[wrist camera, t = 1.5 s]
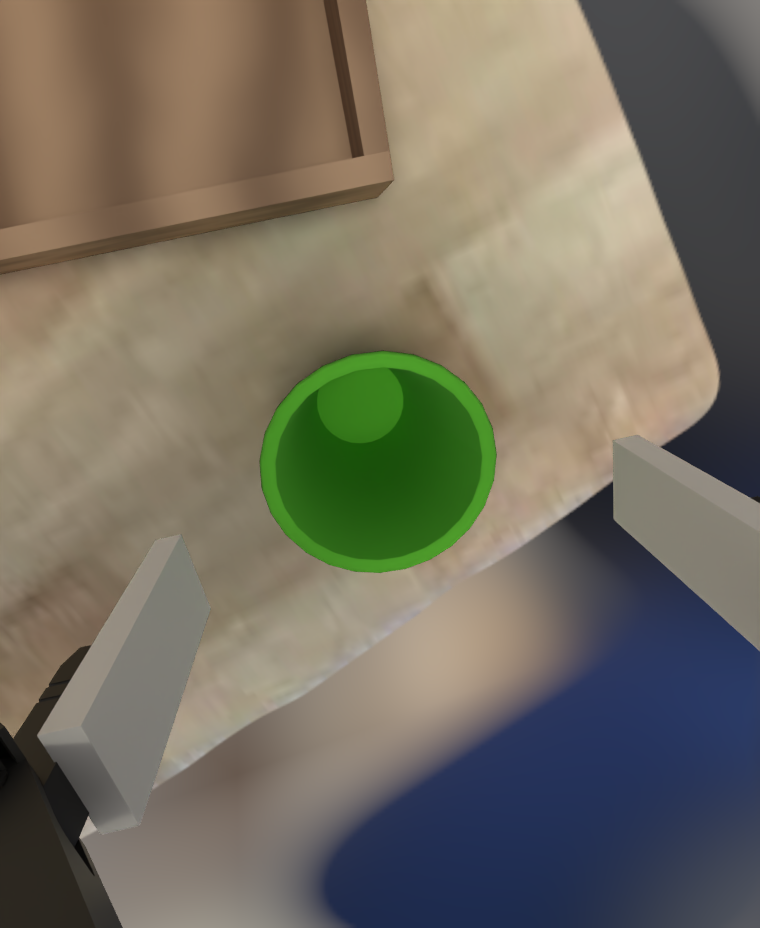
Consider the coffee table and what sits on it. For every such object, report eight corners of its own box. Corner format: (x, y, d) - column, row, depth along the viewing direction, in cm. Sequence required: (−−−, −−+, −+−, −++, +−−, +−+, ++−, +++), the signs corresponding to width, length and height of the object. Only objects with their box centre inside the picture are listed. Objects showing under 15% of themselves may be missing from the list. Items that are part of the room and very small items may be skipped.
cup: (265, 329, 27) (234, 371, 17) (431, 309, 28) (496, 337, 18) (294, 481, 31) (282, 590, 21) (441, 460, 31) (500, 556, 21)
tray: (-62, 287, 25) (-171, 294, 19) (-254, -93, 19) (-483, -235, 14) (377, 197, 25) (393, 179, 20) (311, -195, 20) (307, -368, 15)
